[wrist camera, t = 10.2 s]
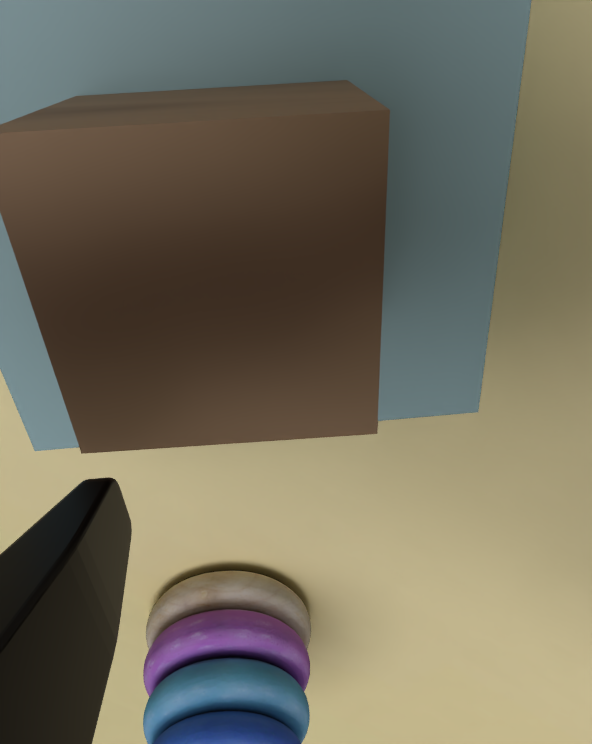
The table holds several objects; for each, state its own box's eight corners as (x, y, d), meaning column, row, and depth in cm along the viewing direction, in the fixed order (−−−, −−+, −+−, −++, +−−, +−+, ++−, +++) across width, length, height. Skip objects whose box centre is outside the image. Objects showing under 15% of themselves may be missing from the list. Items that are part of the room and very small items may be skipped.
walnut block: (346, 321, 15) (377, 433, 11) (132, 335, 15) (81, 453, 11) (347, 79, 12) (389, 110, 8) (75, 95, 12) (-26, 134, 8)
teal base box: (443, 349, 21) (478, 411, 17) (72, 381, 21) (34, 451, 17) (483, -153, 13) (558, -214, 10) (-96, -105, 13) (-219, -150, 10)
